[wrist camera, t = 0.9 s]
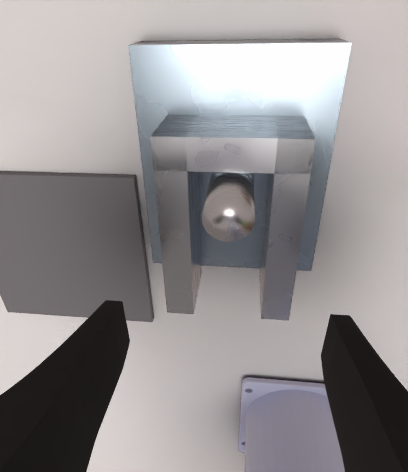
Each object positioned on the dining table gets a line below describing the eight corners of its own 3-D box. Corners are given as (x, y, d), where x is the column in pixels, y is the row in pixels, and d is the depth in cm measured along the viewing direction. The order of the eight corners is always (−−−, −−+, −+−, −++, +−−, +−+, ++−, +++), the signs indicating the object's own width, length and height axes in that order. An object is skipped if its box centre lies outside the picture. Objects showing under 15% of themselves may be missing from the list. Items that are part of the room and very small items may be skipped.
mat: (153, 317, 24) (152, 321, 23) (11, 307, 25) (7, 311, 24) (135, 174, 18) (133, 178, 18) (-46, 170, 19) (-51, 173, 19)
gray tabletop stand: (283, 277, 18) (288, 320, 16) (178, 271, 19) (167, 312, 16) (304, 115, 14) (315, 139, 11) (167, 114, 15) (150, 136, 12)
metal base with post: (305, 248, 20) (325, 331, 14) (161, 241, 20) (131, 318, 15) (339, 38, 14) (388, 55, 9) (142, 41, 15) (86, 56, 10)
